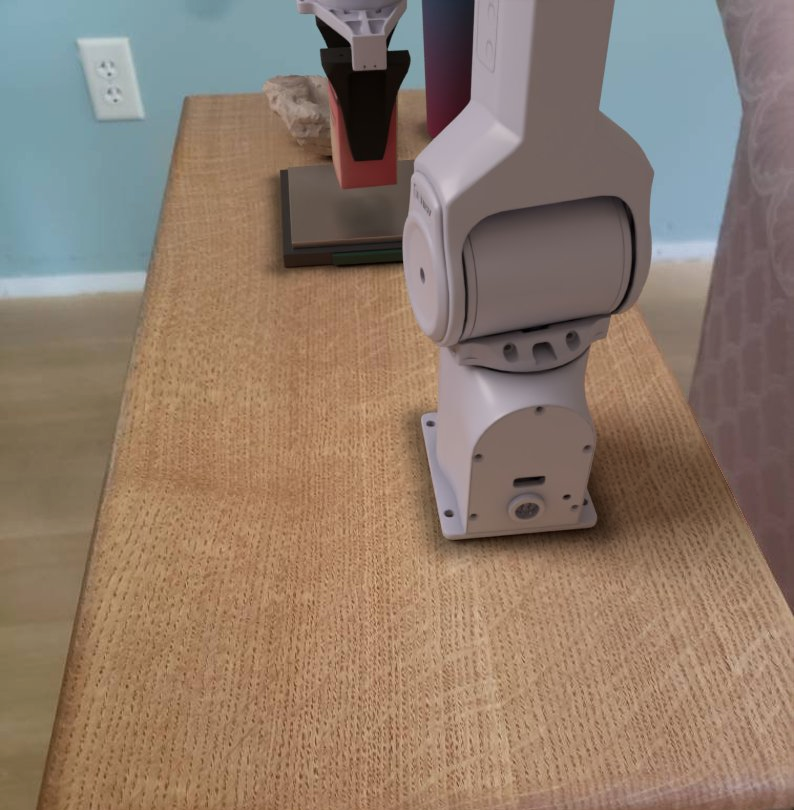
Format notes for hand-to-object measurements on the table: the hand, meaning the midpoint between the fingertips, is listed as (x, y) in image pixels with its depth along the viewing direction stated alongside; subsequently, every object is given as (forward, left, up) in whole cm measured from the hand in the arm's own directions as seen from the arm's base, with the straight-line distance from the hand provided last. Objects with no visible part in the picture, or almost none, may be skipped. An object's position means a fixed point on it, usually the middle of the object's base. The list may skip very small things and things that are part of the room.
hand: (364, 140), depth 61 cm
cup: (+14, -9, -6) cm, 18 cm away
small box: (0, 0, -3) cm, 3 cm away
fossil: (+14, +3, -6) cm, 16 cm away
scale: (0, 0, -6) cm, 6 cm away
